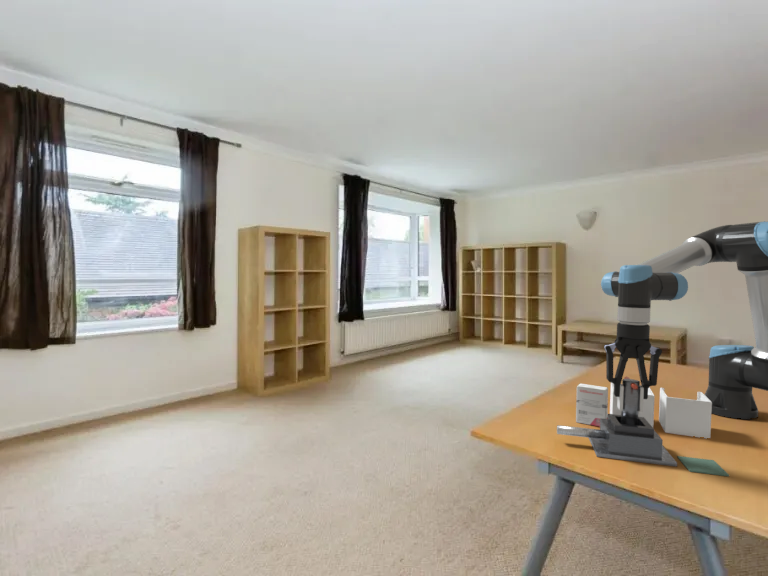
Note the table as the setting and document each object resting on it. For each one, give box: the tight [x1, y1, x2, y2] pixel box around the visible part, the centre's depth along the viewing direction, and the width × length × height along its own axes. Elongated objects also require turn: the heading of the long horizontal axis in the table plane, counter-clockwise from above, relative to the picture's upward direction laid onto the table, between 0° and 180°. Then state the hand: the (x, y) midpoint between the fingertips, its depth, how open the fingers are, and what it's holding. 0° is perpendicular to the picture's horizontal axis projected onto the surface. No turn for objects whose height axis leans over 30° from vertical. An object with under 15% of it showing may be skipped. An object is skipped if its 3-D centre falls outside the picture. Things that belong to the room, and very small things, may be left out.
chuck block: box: [556, 413, 678, 467], centre depth 115 cm, size 27×14×8 cm, turn 73°
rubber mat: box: [676, 455, 730, 478], centre depth 105 cm, size 8×8×1 cm
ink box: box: [575, 383, 609, 428], centre depth 133 cm, size 9×5×12 cm, turn 55°
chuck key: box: [621, 376, 641, 426], centre depth 113 cm, size 4×9×13 cm, turn 163°
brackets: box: [609, 382, 712, 439], centre depth 132 cm, size 25×11×11 cm, turn 65°
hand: (629, 409), depth 113 cm, fingers closed on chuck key, 4 cm apart
